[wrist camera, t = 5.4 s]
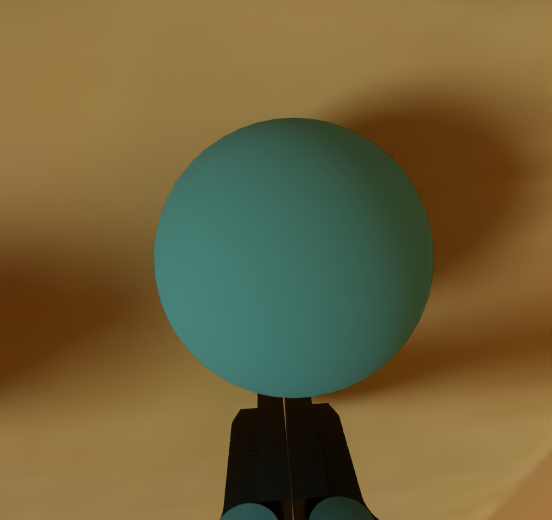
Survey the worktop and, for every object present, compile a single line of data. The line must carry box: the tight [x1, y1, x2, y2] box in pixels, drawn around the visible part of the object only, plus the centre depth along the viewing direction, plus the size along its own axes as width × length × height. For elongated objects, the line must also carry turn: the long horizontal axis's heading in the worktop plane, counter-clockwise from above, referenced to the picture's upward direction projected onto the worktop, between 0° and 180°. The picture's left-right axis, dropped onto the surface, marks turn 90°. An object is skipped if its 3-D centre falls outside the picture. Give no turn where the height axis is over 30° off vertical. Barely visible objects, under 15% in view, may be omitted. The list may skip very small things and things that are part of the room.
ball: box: [154, 118, 434, 398], centre depth 8 cm, size 6×6×6 cm
